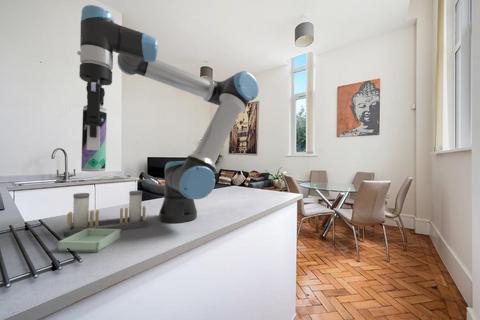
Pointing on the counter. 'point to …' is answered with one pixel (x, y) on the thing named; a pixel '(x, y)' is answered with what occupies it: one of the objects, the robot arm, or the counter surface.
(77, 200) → the fuse
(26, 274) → the counter surface
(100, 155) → the spray can
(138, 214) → the fuse
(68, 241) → the tray
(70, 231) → the fuse frame
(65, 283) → the counter surface
